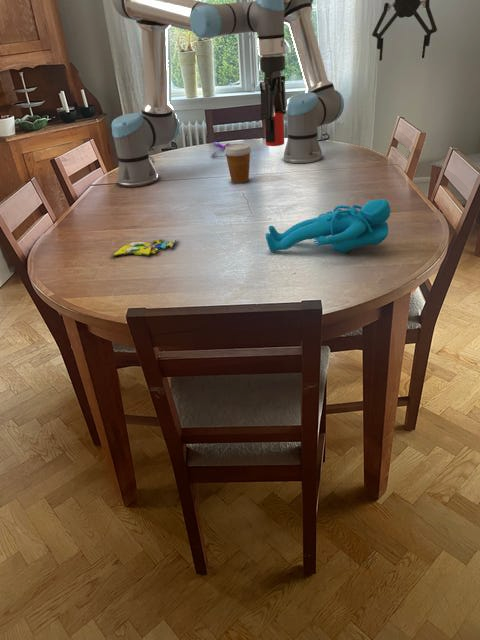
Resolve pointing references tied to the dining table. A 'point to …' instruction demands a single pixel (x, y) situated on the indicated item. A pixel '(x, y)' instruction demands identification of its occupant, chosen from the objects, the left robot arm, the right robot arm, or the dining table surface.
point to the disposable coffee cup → (238, 162)
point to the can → (277, 130)
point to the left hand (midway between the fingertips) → (274, 139)
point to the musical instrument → (220, 148)
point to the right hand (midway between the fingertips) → (401, 59)
